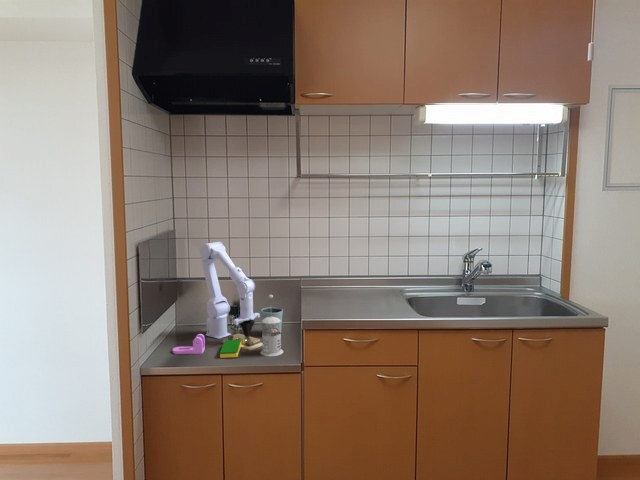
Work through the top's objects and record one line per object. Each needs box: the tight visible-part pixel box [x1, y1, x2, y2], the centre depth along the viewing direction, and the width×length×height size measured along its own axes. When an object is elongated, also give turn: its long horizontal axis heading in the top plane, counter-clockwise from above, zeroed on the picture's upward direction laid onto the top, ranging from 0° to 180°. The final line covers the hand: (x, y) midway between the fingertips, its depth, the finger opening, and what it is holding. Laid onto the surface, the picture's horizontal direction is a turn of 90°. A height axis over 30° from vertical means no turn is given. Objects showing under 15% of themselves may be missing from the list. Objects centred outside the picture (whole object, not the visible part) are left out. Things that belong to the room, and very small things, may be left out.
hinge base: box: [220, 334, 263, 351], centre depth 219 cm, size 18×9×3 cm, turn 53°
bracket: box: [172, 333, 206, 355], centre depth 209 cm, size 13×6×7 cm, turn 92°
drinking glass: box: [260, 306, 284, 336], centre depth 231 cm, size 10×10×12 cm
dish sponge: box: [219, 339, 242, 359], centre depth 208 cm, size 7×14×2 cm, turn 1°
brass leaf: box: [231, 332, 261, 344], centre depth 219 cm, size 14×7×2 cm, turn 53°
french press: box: [259, 294, 284, 357], centre depth 208 cm, size 10×12×25 cm
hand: (247, 336), depth 221 cm, fingers closed
